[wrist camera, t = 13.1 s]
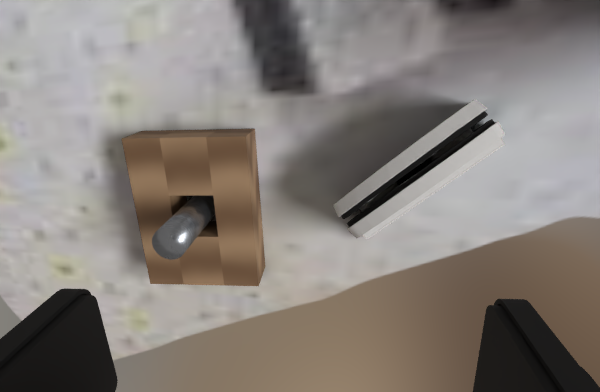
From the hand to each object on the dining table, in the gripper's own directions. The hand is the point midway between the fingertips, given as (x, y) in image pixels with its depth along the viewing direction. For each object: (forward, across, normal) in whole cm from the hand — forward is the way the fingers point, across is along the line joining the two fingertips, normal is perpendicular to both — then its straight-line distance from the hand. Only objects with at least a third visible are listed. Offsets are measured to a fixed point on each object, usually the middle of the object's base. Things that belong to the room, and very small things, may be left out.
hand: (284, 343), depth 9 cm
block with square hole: (+30, +13, +8) cm, 34 cm away
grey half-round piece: (+31, -9, +4) cm, 32 cm away
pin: (+30, +13, +8) cm, 34 cm away
